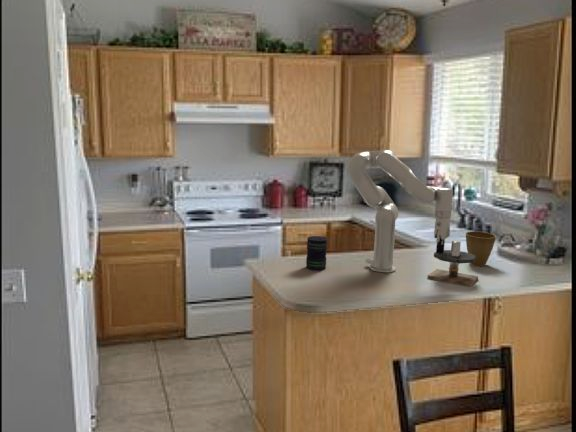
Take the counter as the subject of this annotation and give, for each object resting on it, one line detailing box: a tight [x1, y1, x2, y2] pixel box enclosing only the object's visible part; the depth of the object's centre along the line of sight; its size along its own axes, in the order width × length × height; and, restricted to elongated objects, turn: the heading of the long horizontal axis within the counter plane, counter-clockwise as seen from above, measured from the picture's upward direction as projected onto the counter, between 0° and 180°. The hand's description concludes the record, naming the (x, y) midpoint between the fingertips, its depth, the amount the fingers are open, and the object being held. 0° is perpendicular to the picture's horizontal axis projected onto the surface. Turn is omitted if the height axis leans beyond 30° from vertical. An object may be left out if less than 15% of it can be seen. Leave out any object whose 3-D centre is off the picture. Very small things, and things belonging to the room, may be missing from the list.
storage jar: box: [305, 235, 328, 272], centre depth 275 cm, size 10×10×15 cm
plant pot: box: [465, 230, 497, 267], centre depth 294 cm, size 15×15×16 cm
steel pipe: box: [448, 240, 462, 277], centre depth 265 cm, size 4×4×16 cm
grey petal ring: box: [433, 249, 476, 264], centre depth 264 cm, size 18×18×2 cm
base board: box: [426, 268, 479, 287], centre depth 266 cm, size 20×14×2 cm
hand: (439, 252), depth 268 cm, fingers closed
